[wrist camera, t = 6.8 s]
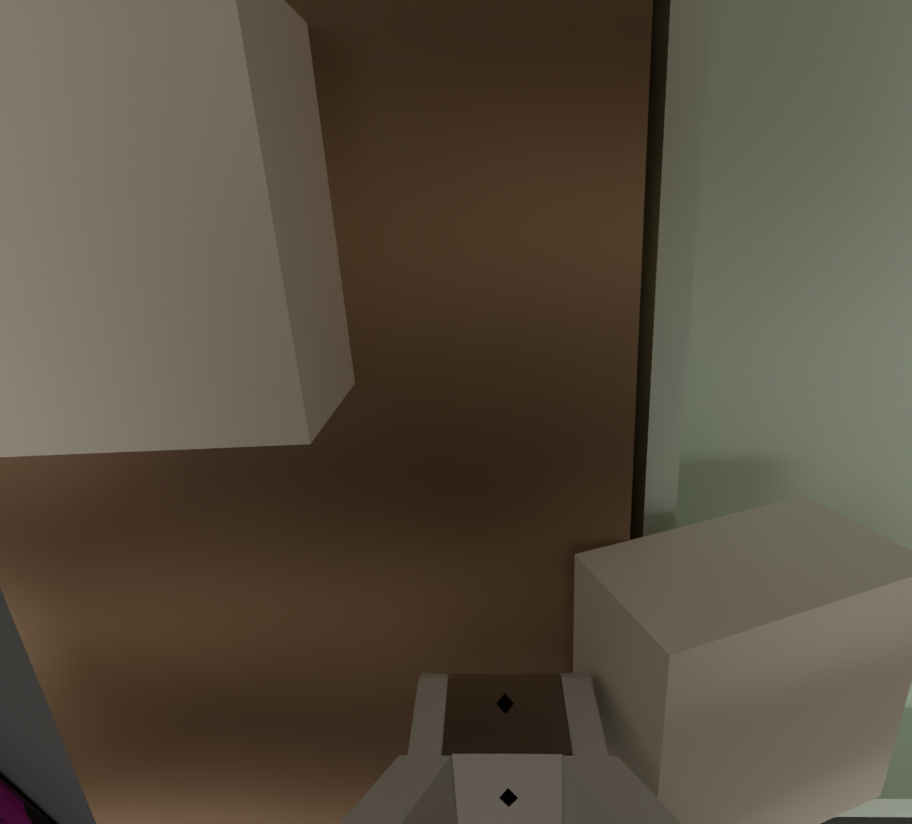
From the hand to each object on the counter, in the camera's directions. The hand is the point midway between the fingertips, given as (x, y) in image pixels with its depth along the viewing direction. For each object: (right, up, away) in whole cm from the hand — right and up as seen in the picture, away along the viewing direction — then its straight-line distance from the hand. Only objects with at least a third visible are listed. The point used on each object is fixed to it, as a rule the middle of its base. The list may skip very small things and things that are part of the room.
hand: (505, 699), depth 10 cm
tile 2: (-5, +8, -2) cm, 9 cm away
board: (-4, +5, +4) cm, 8 cm away
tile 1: (+4, +1, +1) cm, 4 cm away
